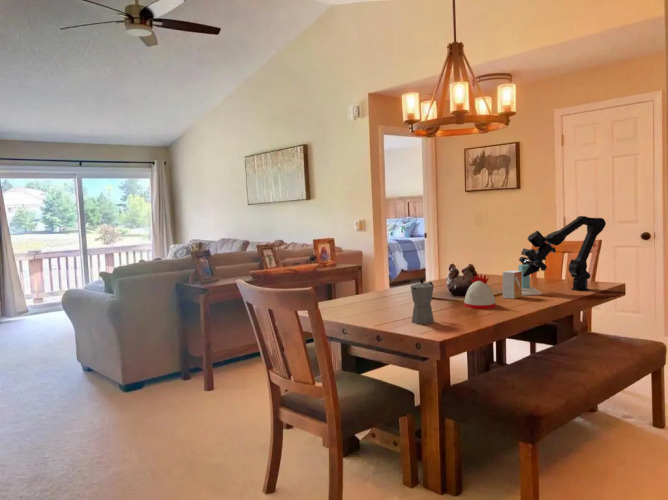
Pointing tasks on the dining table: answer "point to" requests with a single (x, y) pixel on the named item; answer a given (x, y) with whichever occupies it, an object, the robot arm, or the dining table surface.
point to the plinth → (530, 291)
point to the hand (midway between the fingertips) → (521, 275)
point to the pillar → (524, 279)
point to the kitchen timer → (479, 294)
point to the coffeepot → (422, 302)
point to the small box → (512, 284)
